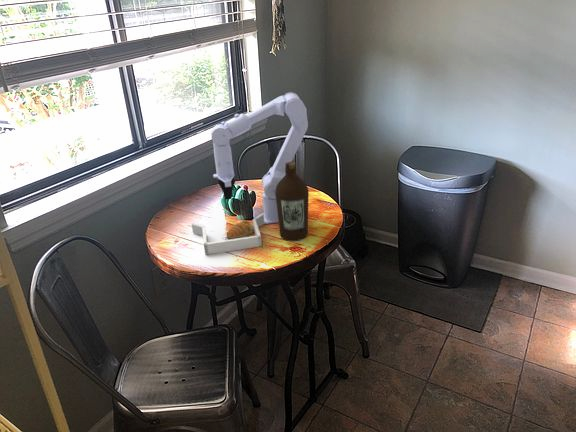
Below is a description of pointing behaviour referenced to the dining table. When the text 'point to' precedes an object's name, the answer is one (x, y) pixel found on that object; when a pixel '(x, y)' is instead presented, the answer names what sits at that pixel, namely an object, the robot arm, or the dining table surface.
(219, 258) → the dining table surface
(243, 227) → the pastry
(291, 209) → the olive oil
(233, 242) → the box
